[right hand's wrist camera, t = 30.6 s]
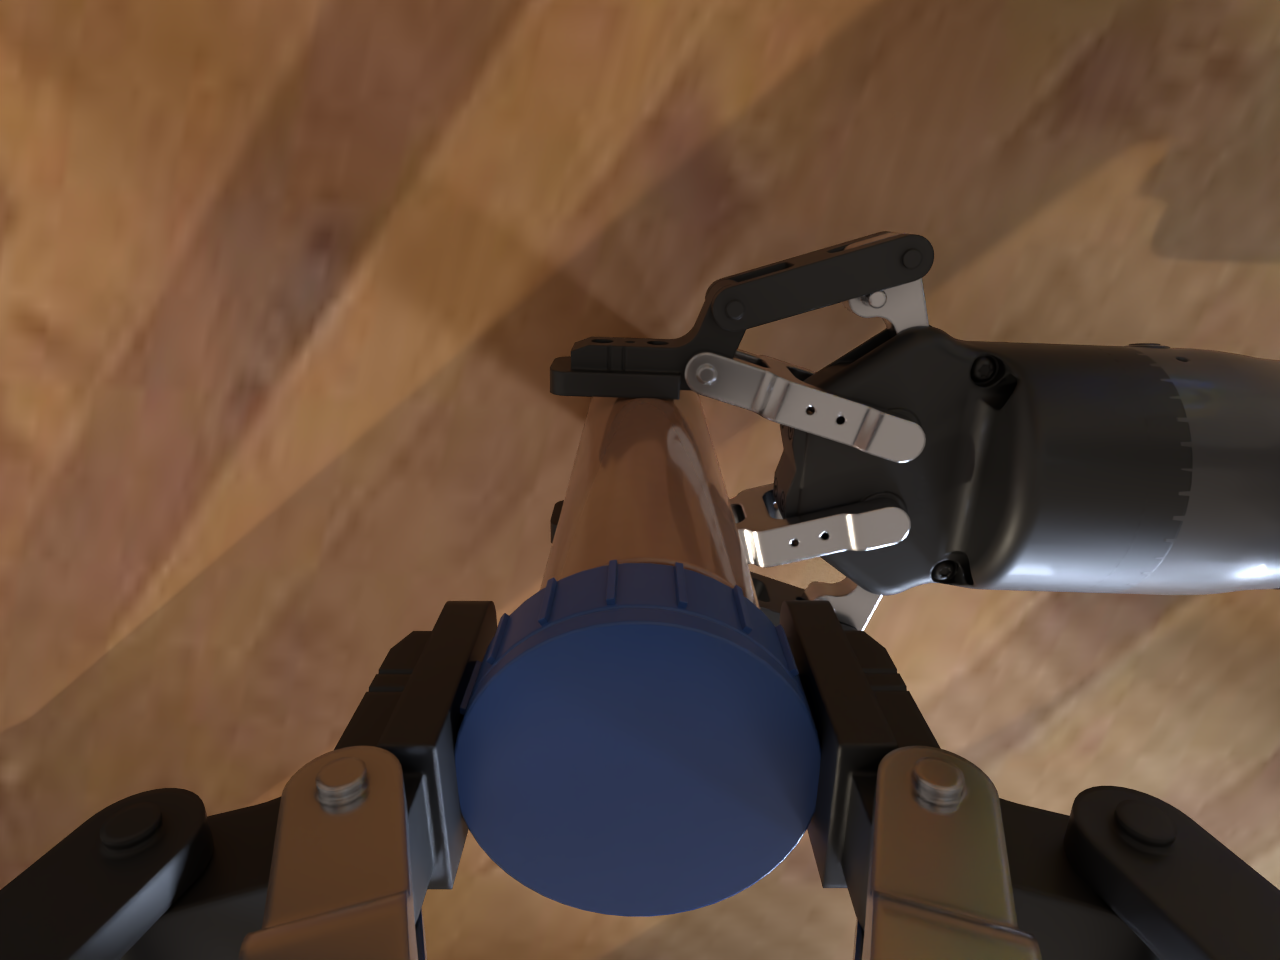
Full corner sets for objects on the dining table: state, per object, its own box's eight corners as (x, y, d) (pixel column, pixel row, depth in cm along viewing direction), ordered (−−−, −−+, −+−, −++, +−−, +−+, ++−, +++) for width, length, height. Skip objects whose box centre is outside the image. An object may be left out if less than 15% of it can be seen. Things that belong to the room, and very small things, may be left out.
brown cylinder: (674, 332, 28) (729, 561, 10) (713, 429, 29) (824, 785, 11) (575, 374, 28) (459, 662, 10) (618, 467, 29) (579, 864, 12)
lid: (438, 786, 12) (408, 873, 10) (522, 511, 10) (501, 566, 8) (730, 861, 12) (744, 953, 11) (856, 613, 10) (892, 680, 9)
